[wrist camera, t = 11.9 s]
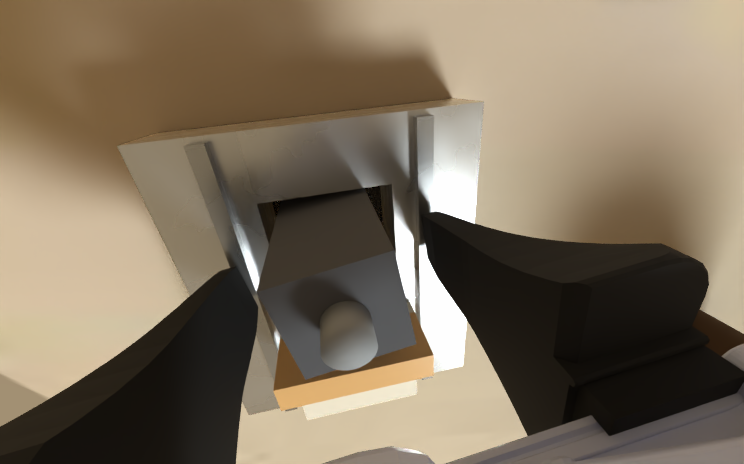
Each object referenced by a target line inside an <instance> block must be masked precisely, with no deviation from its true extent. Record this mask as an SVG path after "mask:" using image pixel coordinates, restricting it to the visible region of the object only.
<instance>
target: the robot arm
mask: <svg viewBox="0 0 744 464" xmlns="http://www.w3.org/2000/svg"><path fill="white" fill-rule="evenodd" d="M421 217H422V224H423V231H424V238H425V245H426V252H427V258H428V260H429V262H430V264H431V266H432V268H433V270H434V272H435V274H436V276H437V278H438V279H439V281H440V282H441V284H442V285H443V287H444V288H445V290H446V291H447V292H448V294H449V295H450V297H451V298H452V300H453V301H454V302H455V304H456V305H457V307H458V308H459V310H460V311H461V312H462V314H463V315H464V317H465V318H466V319H467V321H468V323H469V324H470V326H471V327H472V329H473V330H474V332H475V334H476V336H477V338H478V339H479V341H480V343H481V345H482V347H483V348H484V350H485V352H486V354H487V356H488V358H489V360H490V362H491V363H492V365H493V367H494V369H495V371H496V373H497V375H498V377H499V379H500V380H501V382H502V384H503V386H504V388H505V390H506V392H507V394H508V396H509V398H510V400H511V402H512V404H513V406H514V408H515V410H516V412H517V414H518V416H519V419H520V421H521V423H522V425H523V427H524V429H525V431H526V433H527V435H528V436H527V437H524V438H521V439H518V440H515V441H512V442H509V443H506V444H503V445H500V446H497V447H494V448H491V449H488V450H485V451H482V452H479V453H476V454H473V455H470V456H467V457H464V458H461V459H458V460H455V461H452V462H449V463H446V464H744V344H742V345H739V346H736V347H734V348H732V349H730V350H729V351H727V352H726V353H725V354H724V355H723V356H720V355H719V354H717V353H716V352H714V351H713V350H711V349H710V348H708V347H707V346H705V345H706V344H708V343H709V341H710V339H709V338H708V336H707V335H706V334H704V333H703V332H701V331H699V330H698V329H696V328H695V327H693V326H692V325H693V322H694V320H695V318H696V316H697V313H698V311H699V309H700V307H701V304H702V302H703V300H704V298H705V295H706V292H707V289H708V285H709V281H708V272H707V270H706V268H705V266H704V265H703V263H701V262H699V261H697V260H695V259H693V258H691V257H689V256H687V255H685V254H683V253H681V252H679V251H677V250H674V249H672V248H670V247H668V246H666V245H663V244H595V243H576V242H563V241H555V240H546V239H539V238H532V237H526V236H521V235H516V234H511V233H507V232H502V231H499V230H495V229H491V228H488V227H484V226H481V225H478V224H475V223H472V222H469V221H466V220H463V219H460V218H457V217H455V216H452V215H449V214H446V213H443V212H440V211H433V212H430V213H426V214H423V215H421ZM257 323H258V305H257V303H256V301H255V300H254V298H253V296H252V294H251V292H250V290H249V288H248V287H247V285H246V283H245V281H244V279H243V277H242V275H241V274H240V272H239V270H238V268H237V266H235V267H232V268H228V269H225V270H221V271H219V272H218V273H216V274H215V275H214V276H212V277H211V278H210V279H209V280H208V281H206V282H205V283H204V284H203V285H202V286H201V287H200V288H198V289H197V290H196V291H195V292H194V293H193V294H192V295H191V296H190V297H188V298H187V299H186V300H185V301H184V302H183V303H182V304H181V305H180V306H178V307H177V308H176V309H175V310H174V311H173V312H171V313H170V314H169V315H168V316H167V317H166V318H164V319H163V320H162V321H161V322H160V323H158V324H157V325H156V326H155V327H154V328H153V329H151V330H150V331H149V332H148V333H146V334H145V335H144V336H142V337H141V338H140V339H139V340H137V341H136V342H135V343H133V344H132V345H131V346H129V347H128V348H126V349H125V350H124V351H122V352H121V353H120V354H118V355H117V356H115V357H114V358H113V359H111V360H110V361H108V362H107V363H105V364H104V365H102V366H101V367H99V368H98V369H96V370H95V371H93V372H91V373H90V374H88V375H87V376H85V377H84V378H82V379H81V380H79V381H78V382H76V383H75V384H73V385H72V386H70V387H68V388H67V389H65V390H63V391H62V392H60V393H58V394H57V395H55V396H53V397H52V398H50V399H48V400H47V401H45V402H43V403H42V404H40V405H38V406H37V407H35V408H33V409H32V410H29V411H28V412H26V413H24V414H23V415H21V416H19V417H17V418H15V419H14V420H12V421H10V422H8V423H6V424H5V425H3V426H1V427H0V464H236V453H237V441H238V429H239V421H240V412H241V403H242V397H243V391H244V386H245V382H246V377H247V373H248V369H249V364H250V360H251V355H252V351H253V346H254V342H255V337H256V332H257ZM323 464H435V463H434V462H433V461H432V460H431V459H430V458H429V457H428V456H427V455H426V454H424V453H422V452H420V451H417V450H411V449H405V448H400V447H394V446H391V447H385V448H379V449H374V450H368V451H362V452H357V453H354V454H351V455H348V456H345V457H342V458H339V459H335V460H332V461H329V462H326V463H323Z"/></svg>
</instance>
